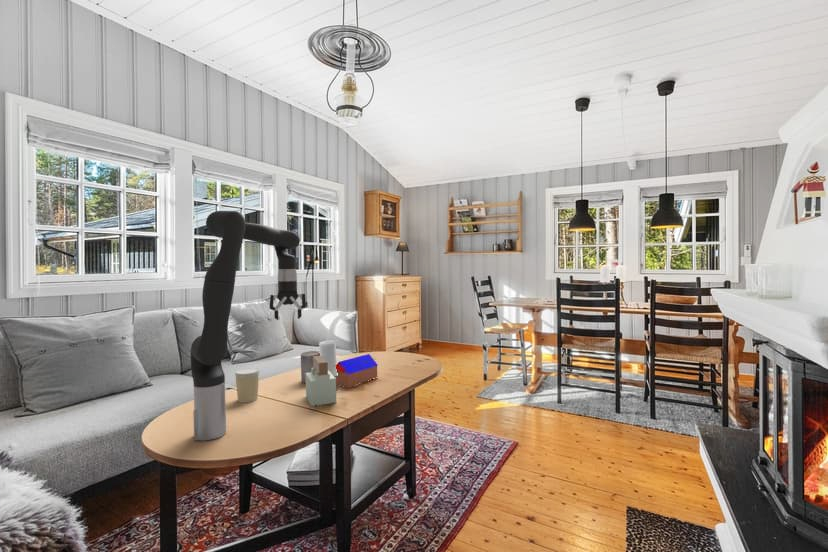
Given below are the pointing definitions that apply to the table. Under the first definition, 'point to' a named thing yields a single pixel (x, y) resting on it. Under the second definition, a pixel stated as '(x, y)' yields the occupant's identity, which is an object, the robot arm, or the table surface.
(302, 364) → the pillar candle
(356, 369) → the house
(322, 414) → the table surface
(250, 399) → the coffee cup
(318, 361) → the long beige cuboid
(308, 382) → the stand
